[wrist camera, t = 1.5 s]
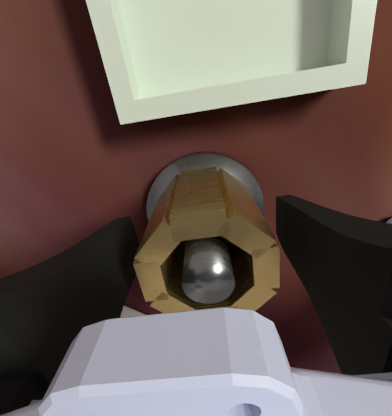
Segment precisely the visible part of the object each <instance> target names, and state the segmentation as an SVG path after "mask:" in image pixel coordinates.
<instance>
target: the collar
mask: <svg viewBox="0 0 392 416" xmlns="http://www.w3.org/2000/svg"><path fill="white" fill-rule="evenodd" d="M216 236H223V237H224V238H226V239H227V242H228V248H229V253H230V258H231V263H232V269H233V274H234V279H235V287H234V290H233V292H232V293H231V294H230V296H229V297H227V298H226V299H224V300H222V301H220V302H217V303H212V304H205V303H199V302H196V301H194V300H192V299H191V298H189V297H188V296H187V295H186V294H185V292H184V291H183V288H182V275H183V265H184V255H185V244H186V240H192V239H200V238H208V237H216ZM134 259H135V260H134V263H133V266H134V269H135V272H136V275H137V278H138V281H139V283H140V286H141V289H142V292H143V295H144V298H145V301H146V302H148V301H151V302H150V306H151V307H153V308H155V309H157V310H159V311H161V312H163V313H172V312H182V311H191V310H201V309H211V308H220V307H228V308H240V309H250V310H253V311H256V310H257V309H258V308H260V307H261V306H262V305H263V304H264V303H266V302H267V301H268V300H269V299H270V298H271V297H273V296H274V295H275V294H276V293H277V291H276V289H275V288H280V247H279V245H278V243H277V241H276V239H275V237H274V235H273V233H272V232H271V230H270V228H269V226H268V224H267V222H266V220H265V218H264V217H263V215H262V213H261V211H260V209H259V207H258V205H257V203H256V201H255V200H254V198H253V196H252V194H251V192H250V190H249V188H248V187H247V186H245V185H244V184H243V183H241V182H240V181H239V180H237V179H236V178H235V177H233V176H232V175H230V174H229V173H228V172H226V171H225V170H224V169H222V168H220V169H219V170H218V172H217V168H216V166H214V167H207V168H201V169H194V170H187V171H181V172H180V176H179V175H177V174H176V175H175V177H174V178H173V179H172V181H171V182H170V184H169V185H168V186H167V188H166V189H165V190H164V192H163V193H162V195H161V196H160V197H159V199H158V200H157V203H156V205H155V208H154V210H153V213H152V215H151V217H150V220H149V222H148V225H147V227H146V230H145V232H144V235H143V237H142V240H141V242H140V244H139V247H138V249H137V252H136V254H135V257H134Z"/></svg>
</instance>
